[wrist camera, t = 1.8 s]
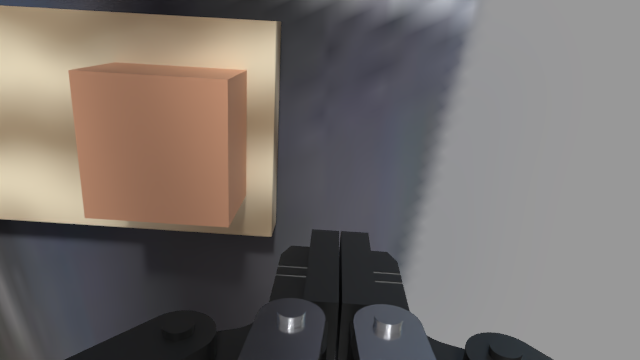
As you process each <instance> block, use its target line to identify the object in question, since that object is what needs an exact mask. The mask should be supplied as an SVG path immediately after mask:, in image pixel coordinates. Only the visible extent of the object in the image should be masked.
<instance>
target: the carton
mask: <svg viewBox="0 0 640 360" xmlns="http://www.w3.org/2000/svg"><path fill="white" fill-rule="evenodd" d="M68 73H69V81H70V90H71V99H72V108H73V117H74V126H75V135H76V144H77V153H78V162H79V171H80V180H81V189H82V198H83V207H84V216H85V218H91V219H106V220H121V221H137V222H152V223H167V224H182V225H198V226H213V227H228V228H229V226H230V224H231V222H232V221H233V219H234V217H235V215H236V213H237V211H238V209H239V208H240V206H241V204H242V202H243V200H244V198H245V197H246V129H247V70H237V69H220V68H203V67H186V66H169V65H152V64H135V63H119V62H113V63H107V64H102V65H96V66H90V67H84V68H78V69H72V70H68Z"/></svg>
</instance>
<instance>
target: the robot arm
mask: <svg viewBox="0 0 640 360" xmlns="http://www.w3.org/2000/svg"><path fill="white" fill-rule="evenodd" d="M65 360H553V359H551V358H550V357H548V356H546V355H545V354H543V353H541V352H540V351H538V350H536V349H534V348H533V347H531V346H529V345H528V344H526V343H524V342H522V341H520V340H519V339H516V338H514V337H511V336H508V335H504V334H500V333H480V334H476V335H474V336H472V337H470V338H469V339H468V340H467V342H466V345H465V349H462V348H458V347H455V346H451V345H448V344H445V343H441V342H439V341H436V340H434V339H432V338H430V337H428V336H427V335H426V333H425V331H424V328H423V326H422V324H421V322H420V320H419V319H418V318H417V317H416V316H415V315H414V314H412V313H411V312H410V311H409V307H408V303H407V299H406V295H405V291H404V287H403V284H402V279H401V275H400V271H399V267H398V263H397V261H396V260H395V259H394V258H393V257H392V256H391V255H390V254H388V253H387V252H379V251H371V250H370V243H369V236H368V233H361V232H346V231H341V237H340V249H339V231H330V230H314V229H312V235H311V243H310V247H302V246H291V247H289V248H288V249H287V250H286V251H285V252H283V253H282V254H281V257H280V261H279V266H278V269H277V273H276V277H275V281H274V285H273V289H272V293H271V296H270V300H269V303H267V304H265V305H264V306H262V307H261V308H260V309H259V311H258V313H257V315H256V317H255V319H254V322H253V323H252V324H250V325H248V326H245V327H241V328H237V329H231V330H224V331H217V332H216V324H215V322H214V321H213V320H212V319H211V318H210V317H209V316H207V315H205V314H203V313H200V312H196V311H175V312H169V313H166V314H163V315H160V316H158V317H156V318H154V319H151V320H149V321H147V322H145V323H143V324H141V325H138V326H136V327H134V328H132V329H130V330H128V331H125V332H123V333H121V334H119V335H117V336H115V337H113V338H110V339H108V340H106V341H104V342H102V343H100V344H97V345H95V346H93V347H91V348H89V349H87V350H84V351H82V352H80V353H78V354H76V355H74V356H71V357H69V358H67V359H65Z"/></svg>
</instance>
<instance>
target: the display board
mask: <svg viewBox="0 0 640 360" xmlns="http://www.w3.org/2000/svg"><path fill="white" fill-rule="evenodd" d="M280 44H281V22H279V21H262V20H244V19H226V18H209V17H191V16H174V15H156V14H139V13H121V12H104V11H86V10H68V9H51V8H33V7H16V6H0V219H6V220H22V221H37V222H52V223H67V224H83V225H98V226H113V227H128V228H143V229H159V230H174V231H189V232H204V233H220V234H235V235H250V236H265V237H272V233H273V230H274V227H275V224H276V194H277V156H278V119H279V81H280ZM113 62H119V63H135V64H152V65H169V66H186V67H203V68H220V69H237V70H247V129H246V197H245V198H244V200H243V202H242V204H241V206H240V208H239V209H238V211H237V213H236V215H235V217H234V219H233V221H232V222H231V224H230V226H229V228H228V227H213V226H198V225H182V224H167V223H152V222H137V221H121V220H106V219H91V218H85V216H84V207H83V198H82V189H81V180H80V171H79V162H78V153H77V144H76V135H75V126H74V117H73V108H72V99H71V90H70V81H69V73H68V70H72V69H78V68H84V67H90V66H96V65H102V64H107V63H113Z"/></svg>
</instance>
